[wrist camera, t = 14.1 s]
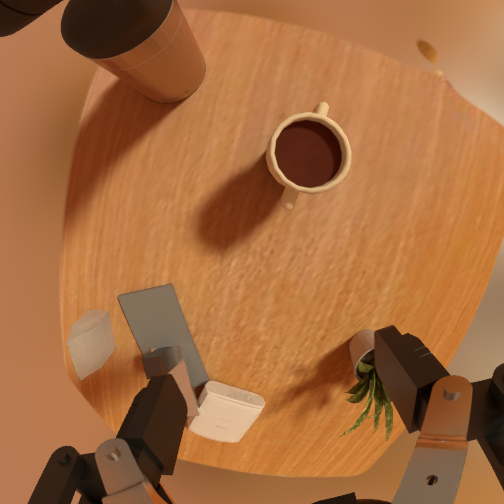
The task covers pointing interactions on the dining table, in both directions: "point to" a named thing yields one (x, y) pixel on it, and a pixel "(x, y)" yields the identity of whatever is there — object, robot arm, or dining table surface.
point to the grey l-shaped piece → (173, 371)
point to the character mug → (308, 154)
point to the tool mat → (162, 325)
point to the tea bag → (91, 342)
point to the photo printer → (225, 412)
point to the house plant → (368, 381)
